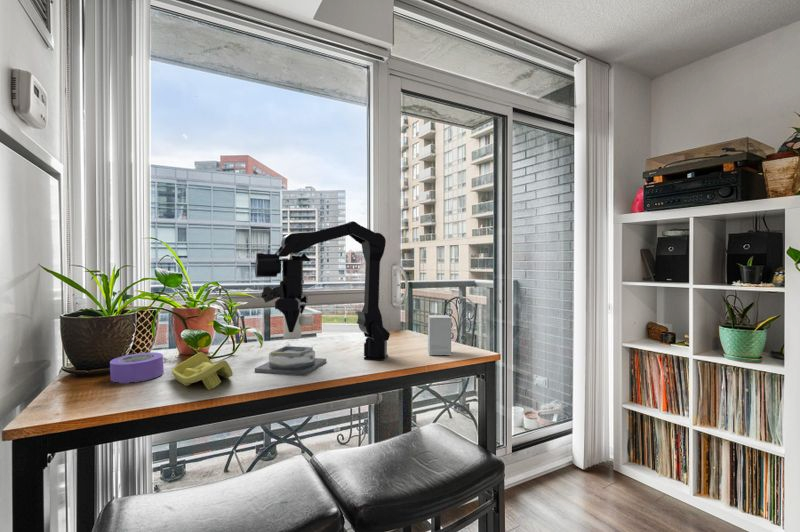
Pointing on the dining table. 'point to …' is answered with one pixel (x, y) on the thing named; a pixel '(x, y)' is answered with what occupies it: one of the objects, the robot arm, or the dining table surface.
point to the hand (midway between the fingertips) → (292, 330)
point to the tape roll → (136, 367)
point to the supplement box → (439, 334)
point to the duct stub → (291, 361)
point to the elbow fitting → (298, 326)
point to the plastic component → (201, 371)
